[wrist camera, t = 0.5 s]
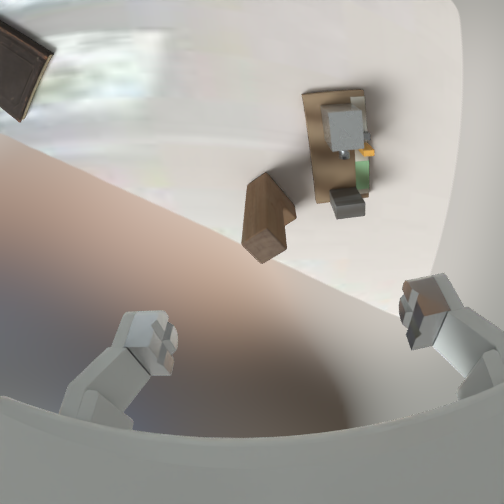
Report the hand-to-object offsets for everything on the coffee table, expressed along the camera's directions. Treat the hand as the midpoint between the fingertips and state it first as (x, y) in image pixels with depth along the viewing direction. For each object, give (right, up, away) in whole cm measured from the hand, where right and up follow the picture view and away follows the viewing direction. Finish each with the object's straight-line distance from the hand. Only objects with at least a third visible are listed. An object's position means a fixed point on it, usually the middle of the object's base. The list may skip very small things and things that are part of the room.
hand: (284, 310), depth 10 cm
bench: (+14, +20, +38) cm, 45 cm away
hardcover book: (-51, +40, +25) cm, 70 cm away
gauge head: (+14, +22, +34) cm, 43 cm away
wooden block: (+2, +12, +45) cm, 47 cm away
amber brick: (+17, +20, +36) cm, 44 cm away
